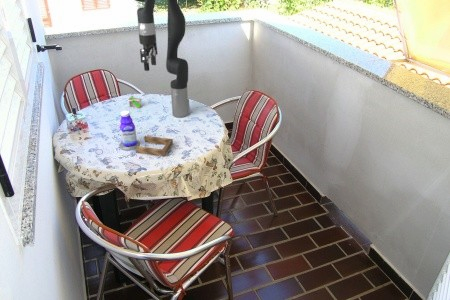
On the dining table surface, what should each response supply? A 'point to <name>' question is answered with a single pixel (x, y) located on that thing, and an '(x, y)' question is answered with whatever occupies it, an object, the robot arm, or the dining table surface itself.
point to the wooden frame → (155, 151)
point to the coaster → (129, 146)
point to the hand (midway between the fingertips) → (150, 67)
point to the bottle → (127, 130)
